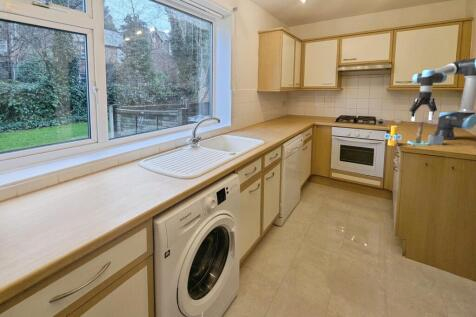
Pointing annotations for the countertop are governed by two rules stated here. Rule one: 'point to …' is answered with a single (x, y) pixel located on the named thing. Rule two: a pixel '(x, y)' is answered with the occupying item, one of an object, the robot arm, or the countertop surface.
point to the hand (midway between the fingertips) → (421, 120)
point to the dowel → (419, 132)
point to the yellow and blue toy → (393, 136)
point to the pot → (435, 139)
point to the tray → (418, 143)
